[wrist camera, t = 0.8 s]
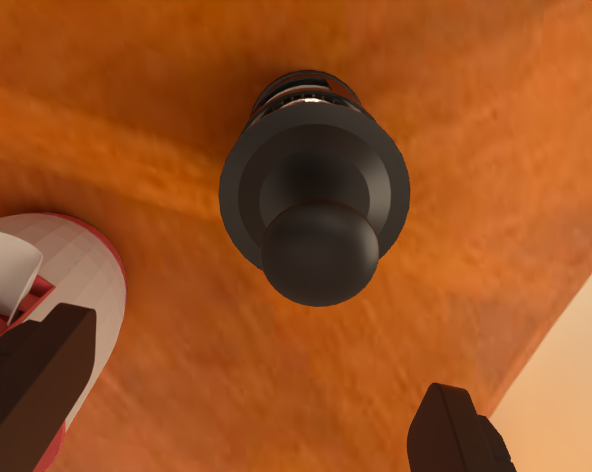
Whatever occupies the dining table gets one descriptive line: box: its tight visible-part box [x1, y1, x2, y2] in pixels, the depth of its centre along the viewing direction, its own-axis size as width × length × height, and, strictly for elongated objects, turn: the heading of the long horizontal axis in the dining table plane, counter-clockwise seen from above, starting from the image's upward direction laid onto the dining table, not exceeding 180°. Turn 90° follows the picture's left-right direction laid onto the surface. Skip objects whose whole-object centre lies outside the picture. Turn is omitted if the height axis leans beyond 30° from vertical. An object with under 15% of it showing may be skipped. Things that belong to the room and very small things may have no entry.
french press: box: [219, 70, 410, 307], centre depth 26 cm, size 12×9×23 cm
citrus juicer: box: [0, 212, 127, 472], centre depth 32 cm, size 16×17×20 cm
